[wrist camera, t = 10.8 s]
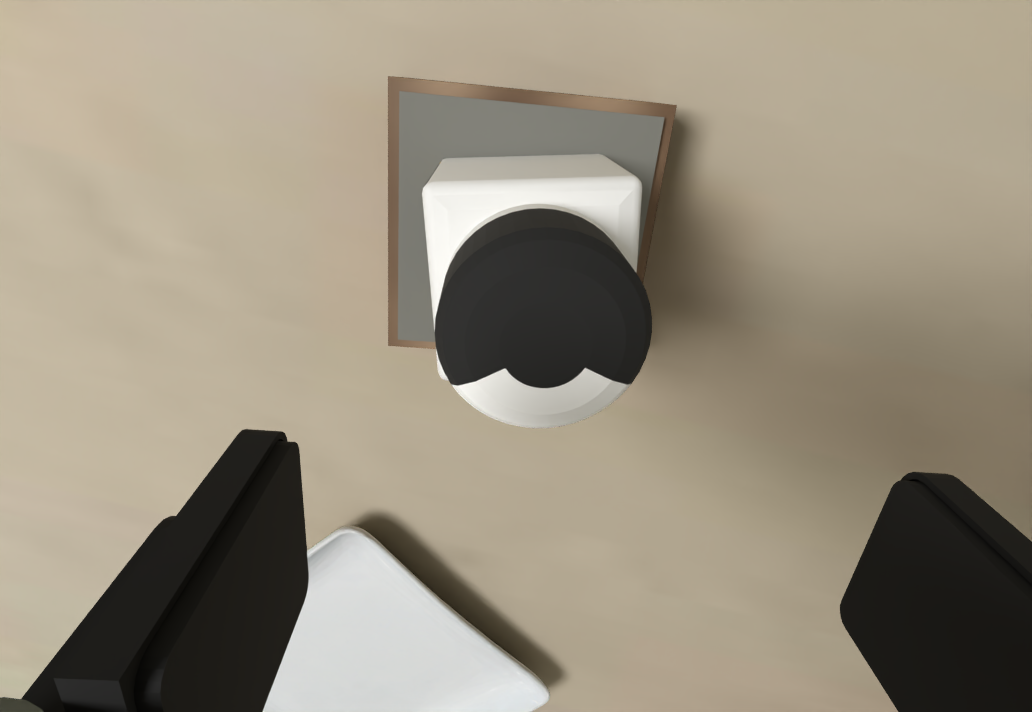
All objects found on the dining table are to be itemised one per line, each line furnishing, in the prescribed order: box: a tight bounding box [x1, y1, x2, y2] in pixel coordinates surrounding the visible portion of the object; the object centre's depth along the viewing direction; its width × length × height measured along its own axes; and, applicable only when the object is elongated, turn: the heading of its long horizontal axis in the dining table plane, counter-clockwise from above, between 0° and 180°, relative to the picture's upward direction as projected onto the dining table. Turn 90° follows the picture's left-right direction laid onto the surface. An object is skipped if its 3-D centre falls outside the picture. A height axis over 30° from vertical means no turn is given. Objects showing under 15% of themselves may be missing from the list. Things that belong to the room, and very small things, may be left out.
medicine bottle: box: [422, 154, 652, 428], centre depth 21 cm, size 7×7×12 cm
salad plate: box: [263, 526, 550, 712], centre depth 42 cm, size 21×21×3 cm
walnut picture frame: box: [388, 76, 677, 349], centre depth 28 cm, size 12×12×4 cm
